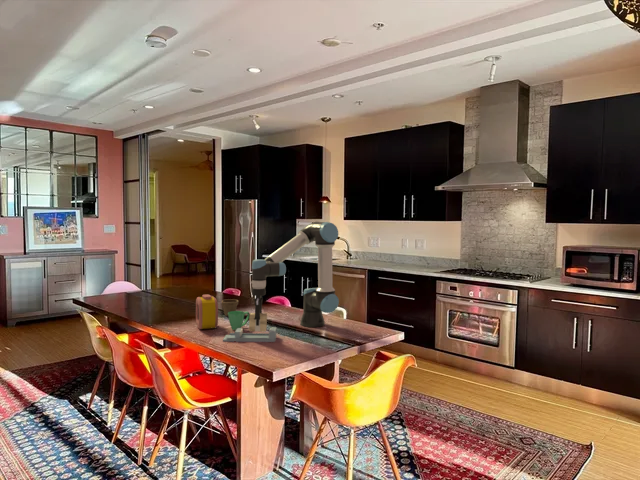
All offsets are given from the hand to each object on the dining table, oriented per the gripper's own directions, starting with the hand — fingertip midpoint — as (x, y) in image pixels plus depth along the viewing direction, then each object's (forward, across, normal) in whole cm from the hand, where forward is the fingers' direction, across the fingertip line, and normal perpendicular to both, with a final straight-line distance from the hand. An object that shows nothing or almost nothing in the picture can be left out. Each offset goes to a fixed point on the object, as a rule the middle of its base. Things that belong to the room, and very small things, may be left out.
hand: (258, 329), depth 251 cm
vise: (+5, 0, -4) cm, 7 cm away
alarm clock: (+6, -26, -34) cm, 43 cm away
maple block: (0, 0, 0) cm, 0 cm away
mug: (+5, -24, -14) cm, 28 cm away
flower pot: (+5, -60, -26) cm, 65 cm away
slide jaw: (+4, 0, -11) cm, 11 cm away
